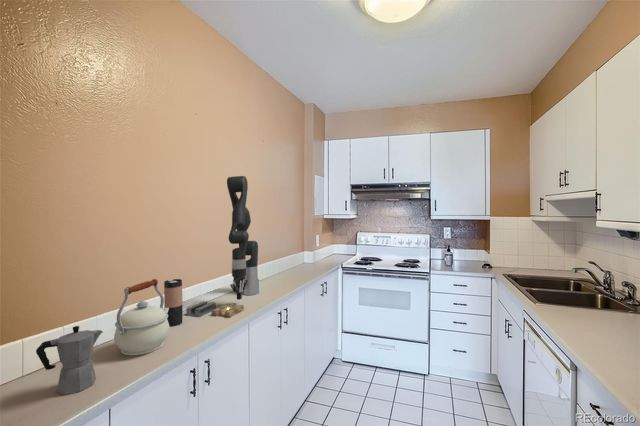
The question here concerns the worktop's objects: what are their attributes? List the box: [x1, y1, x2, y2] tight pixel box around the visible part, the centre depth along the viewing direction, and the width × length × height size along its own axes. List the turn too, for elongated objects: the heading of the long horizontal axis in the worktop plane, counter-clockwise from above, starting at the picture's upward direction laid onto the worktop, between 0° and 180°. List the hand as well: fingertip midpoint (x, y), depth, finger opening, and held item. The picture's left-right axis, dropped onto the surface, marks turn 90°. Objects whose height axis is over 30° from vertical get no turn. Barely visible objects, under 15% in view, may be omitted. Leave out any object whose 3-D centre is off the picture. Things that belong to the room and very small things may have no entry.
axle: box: [219, 303, 238, 317], centre depth 154 cm, size 10×4×4 cm, turn 161°
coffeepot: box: [35, 325, 104, 395], centre depth 90 cm, size 15×9×18 cm, turn 137°
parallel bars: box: [211, 303, 245, 319], centre depth 154 cm, size 12×11×2 cm
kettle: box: [113, 278, 170, 357], centre depth 118 cm, size 25×18×25 cm
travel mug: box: [163, 278, 184, 327], centre depth 140 cm, size 8×8×20 cm
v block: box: [185, 300, 217, 318], centre depth 156 cm, size 12×9×4 cm
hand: (239, 299), depth 164 cm, fingers closed
